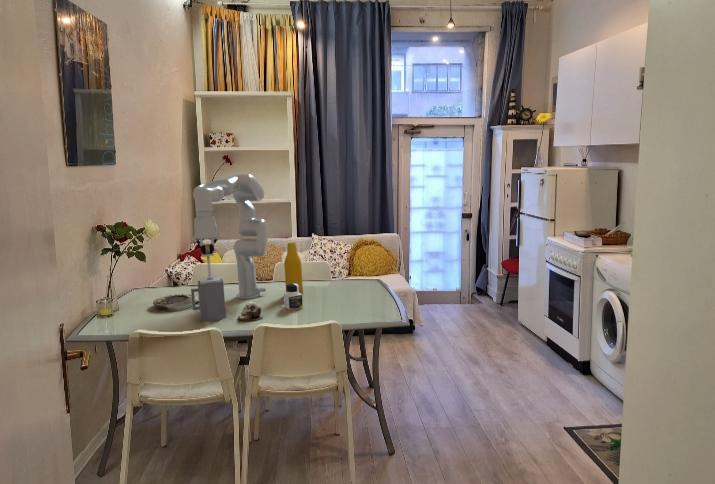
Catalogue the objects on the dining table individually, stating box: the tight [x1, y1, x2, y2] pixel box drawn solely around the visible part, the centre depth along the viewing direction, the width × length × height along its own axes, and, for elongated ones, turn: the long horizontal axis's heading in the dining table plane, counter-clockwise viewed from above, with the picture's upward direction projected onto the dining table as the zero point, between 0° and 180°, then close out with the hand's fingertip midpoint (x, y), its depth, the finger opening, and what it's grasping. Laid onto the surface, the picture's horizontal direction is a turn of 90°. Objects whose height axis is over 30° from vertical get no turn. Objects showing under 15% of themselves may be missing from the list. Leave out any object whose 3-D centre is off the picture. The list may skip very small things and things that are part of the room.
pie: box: [152, 293, 200, 312], centre depth 286 cm, size 28×27×5 cm
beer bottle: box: [283, 241, 304, 295], centre depth 297 cm, size 9×9×29 cm
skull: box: [237, 301, 263, 322], centre depth 261 cm, size 12×10×10 cm
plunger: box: [201, 243, 215, 284], centre depth 259 cm, size 8×8×23 cm
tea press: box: [190, 275, 227, 323], centre depth 261 cm, size 15×12×19 cm
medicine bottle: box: [283, 283, 304, 311], centre depth 274 cm, size 7×7×12 cm
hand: (207, 253), depth 258 cm, fingers closed on plunger, 3 cm apart
